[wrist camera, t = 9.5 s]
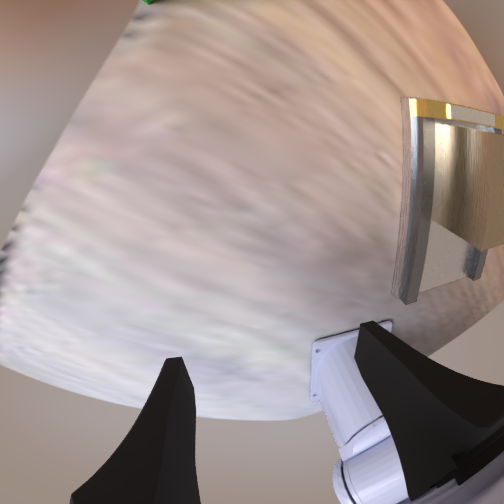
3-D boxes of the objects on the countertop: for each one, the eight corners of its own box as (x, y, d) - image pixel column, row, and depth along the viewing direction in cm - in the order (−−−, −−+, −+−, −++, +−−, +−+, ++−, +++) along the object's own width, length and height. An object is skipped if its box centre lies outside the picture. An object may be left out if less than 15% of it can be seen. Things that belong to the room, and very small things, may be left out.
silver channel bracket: (470, 268, 24) (486, 281, 21) (391, 292, 23) (407, 310, 20) (486, 112, 17) (508, 116, 14) (400, 97, 16) (424, 97, 13)
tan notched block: (444, 124, 16) (494, 134, 11) (474, 128, 16) (520, 139, 12) (439, 224, 19) (481, 251, 15) (468, 219, 20) (507, 242, 15)
